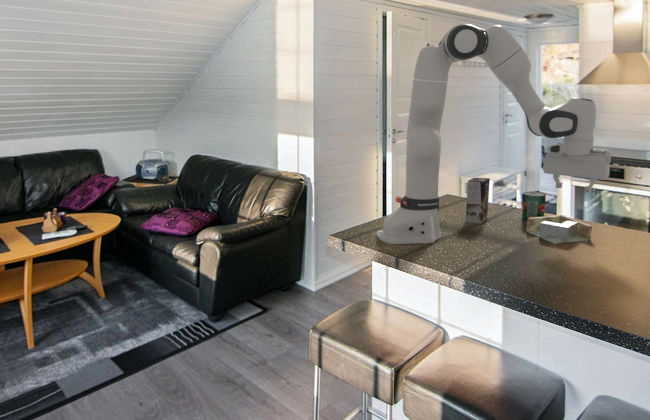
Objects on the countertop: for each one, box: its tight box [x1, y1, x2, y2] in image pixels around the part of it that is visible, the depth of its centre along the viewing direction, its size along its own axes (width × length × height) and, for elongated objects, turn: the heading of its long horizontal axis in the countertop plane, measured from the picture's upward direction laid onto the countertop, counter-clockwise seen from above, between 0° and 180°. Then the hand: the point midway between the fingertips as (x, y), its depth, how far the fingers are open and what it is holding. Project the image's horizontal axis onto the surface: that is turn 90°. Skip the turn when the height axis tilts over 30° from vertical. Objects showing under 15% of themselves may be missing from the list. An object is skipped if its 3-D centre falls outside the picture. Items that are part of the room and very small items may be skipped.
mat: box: [528, 230, 589, 245], centre depth 179 cm, size 14×15×1 cm
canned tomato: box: [521, 191, 547, 224], centre depth 195 cm, size 8×8×11 cm
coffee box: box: [465, 177, 490, 225], centre depth 198 cm, size 9×6×16 cm
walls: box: [526, 214, 593, 241], centre depth 178 cm, size 14×15×5 cm
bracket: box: [538, 221, 578, 243], centre depth 176 cm, size 9×9×5 cm
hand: (573, 189), depth 172 cm, fingers open, 8 cm apart
